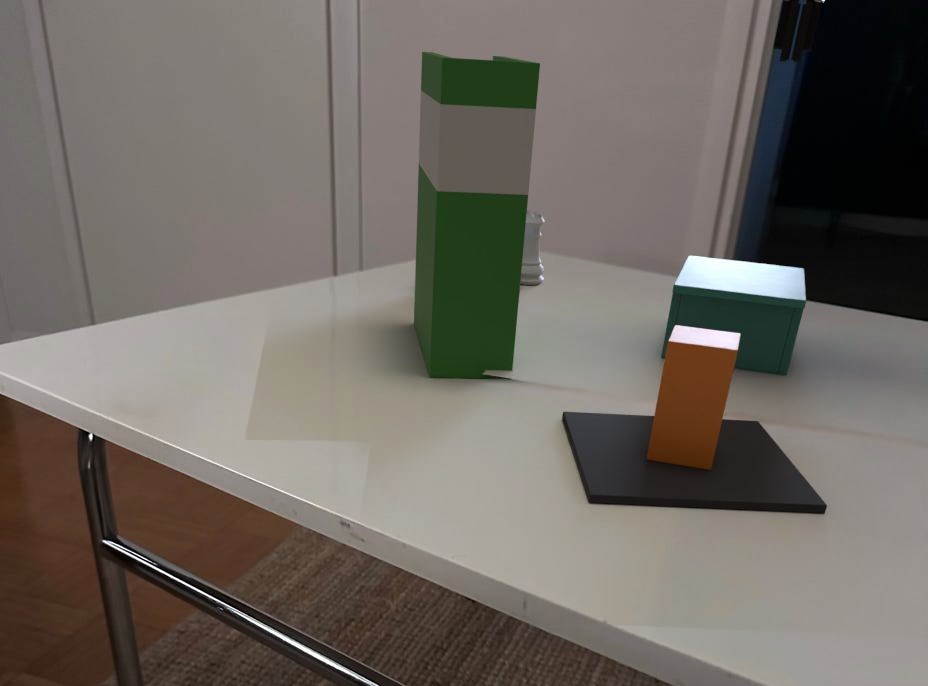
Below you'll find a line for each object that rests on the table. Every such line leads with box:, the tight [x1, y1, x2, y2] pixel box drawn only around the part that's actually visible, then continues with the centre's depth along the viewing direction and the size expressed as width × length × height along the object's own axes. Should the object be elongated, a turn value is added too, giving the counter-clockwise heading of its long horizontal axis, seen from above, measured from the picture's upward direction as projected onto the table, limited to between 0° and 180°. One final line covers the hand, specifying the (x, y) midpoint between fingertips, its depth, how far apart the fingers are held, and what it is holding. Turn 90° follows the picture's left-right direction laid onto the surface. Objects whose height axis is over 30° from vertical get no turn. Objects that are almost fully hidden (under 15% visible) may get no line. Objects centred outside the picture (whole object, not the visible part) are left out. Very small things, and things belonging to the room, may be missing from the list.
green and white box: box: [413, 51, 541, 380], centre depth 83 cm, size 18×7×24 cm, turn 6°
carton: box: [647, 325, 741, 470], centre depth 65 cm, size 5×5×8 cm
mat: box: [561, 411, 828, 514], centre depth 68 cm, size 16×16×1 cm
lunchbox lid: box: [672, 255, 807, 310], centre depth 88 cm, size 15×12×1 cm
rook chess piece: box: [520, 209, 546, 286], centre depth 113 cm, size 4×4×8 cm
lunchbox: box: [660, 292, 805, 376], centre depth 91 cm, size 15×12×7 cm
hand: (789, 61), depth 75 cm, fingers closed
